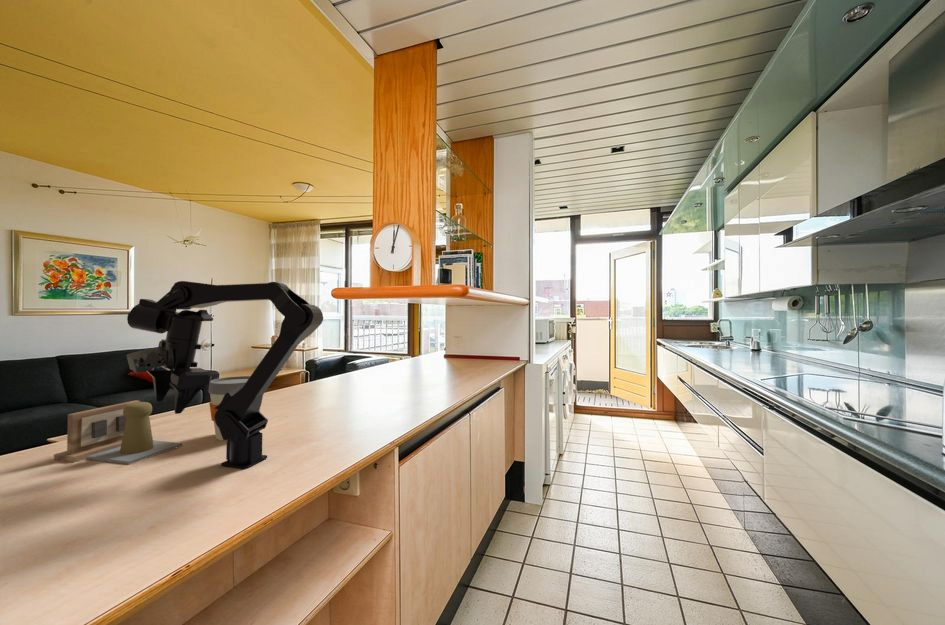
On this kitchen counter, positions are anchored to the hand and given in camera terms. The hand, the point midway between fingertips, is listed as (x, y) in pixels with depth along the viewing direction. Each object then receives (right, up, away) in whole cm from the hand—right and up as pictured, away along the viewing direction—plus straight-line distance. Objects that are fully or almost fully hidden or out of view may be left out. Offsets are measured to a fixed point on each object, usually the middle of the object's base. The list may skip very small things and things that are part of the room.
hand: (168, 407), depth 83 cm
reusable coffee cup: (+3, -13, +19) cm, 23 cm away
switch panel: (-21, -12, +8) cm, 26 cm away
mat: (-12, -12, +6) cm, 18 cm away
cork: (-12, -12, +6) cm, 18 cm away
